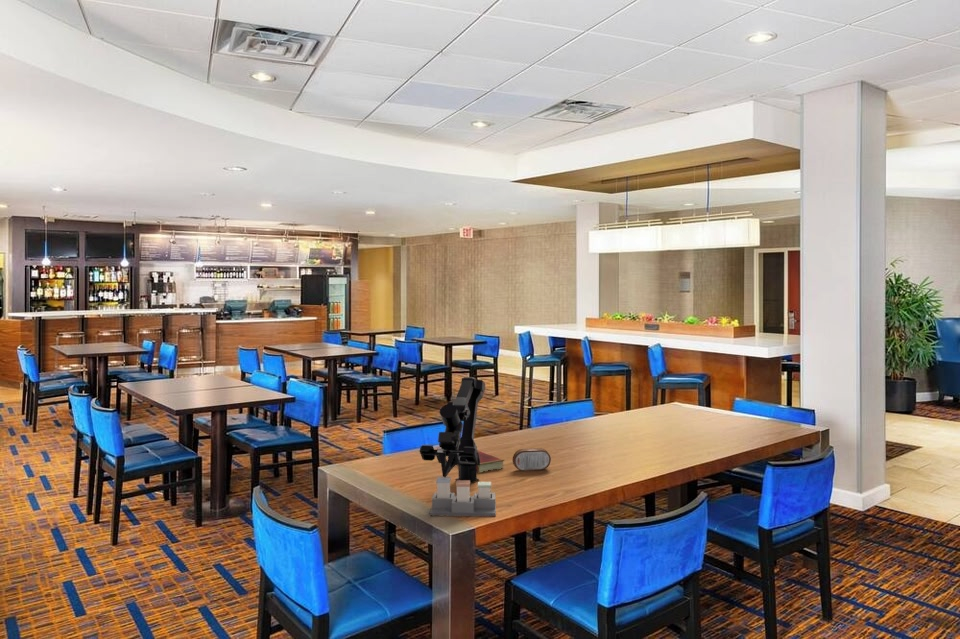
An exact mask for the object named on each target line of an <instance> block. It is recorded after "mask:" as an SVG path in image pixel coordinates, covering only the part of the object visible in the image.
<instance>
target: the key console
mask: <svg viewBox="0 0 960 639" xmlns="http://www.w3.org/2000/svg"><path fill="white" fill-rule="evenodd" d="M473 494H474V495H473V496H470V502H457V495H456V493H455V492H450V498H437V492H433V496H432V498H431V508H430V512H429V516H430V515H448V516H447V517H496V515H497V513H496V512H497V501H496V492H491V498H478V492H474V493H473Z"/></svg>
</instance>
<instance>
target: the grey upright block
mask: <svg viewBox="0 0 960 639" xmlns="http://www.w3.org/2000/svg"><path fill="white" fill-rule="evenodd" d="M451 478H452V477H451V476H446V477H443V476H437V477H436V481H435V482H436V493H437V498H450V493H451Z"/></svg>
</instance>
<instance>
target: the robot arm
mask: <svg viewBox="0 0 960 639" xmlns="http://www.w3.org/2000/svg"><path fill="white" fill-rule="evenodd" d="M484 392H486V383H485V381H483V380H482V379H478V378H476V377H474V376H469V377H468V376H463V377H462V378H461V383H460V386H459V389H458V391H457V393H456V396H455V398H454V399H452V400H450V401H447V403H446V404H444V405H443V406H442V407H441V408H440V409H439V415H440V417H441V420H442V424H443V425H444V426H445V429H444V431H439V432H438V437H437V442H438V443H439V445H438V446H439V448H437V449H435V448H434V445H432V444H422V445H421V446H420V448H419V454H420V457H421V458H422V460H423V461H429V462H430V461H433V460H435V458H436V459H437V462H438V463H439V464H440V465H441V474H442V477H448V475H449V473H450V472H451V471H452V469H454V468H455V466H458V478H455V482H457V480H470V484H471V483H475V482H480V478H477V476H478V475H477V473H478V472H477V470H476V466H477V465H480V456H479V453H478V450H479V449H478V446H477V444H476V441H475V431H476V422H477V415H478V414H477V412H478V407H479V406H478V405H479V403H480V402H481V400H482V399H483V398H484ZM462 421H463V422H462Z"/></svg>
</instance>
